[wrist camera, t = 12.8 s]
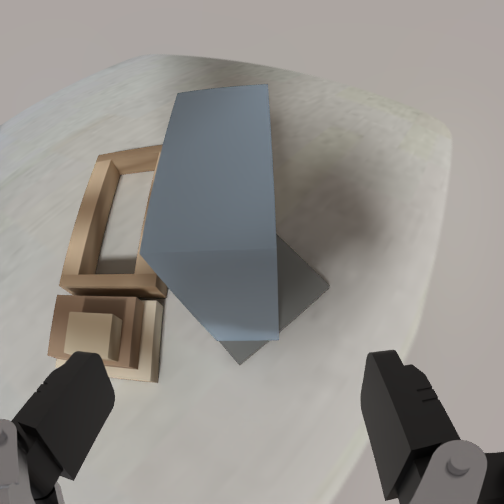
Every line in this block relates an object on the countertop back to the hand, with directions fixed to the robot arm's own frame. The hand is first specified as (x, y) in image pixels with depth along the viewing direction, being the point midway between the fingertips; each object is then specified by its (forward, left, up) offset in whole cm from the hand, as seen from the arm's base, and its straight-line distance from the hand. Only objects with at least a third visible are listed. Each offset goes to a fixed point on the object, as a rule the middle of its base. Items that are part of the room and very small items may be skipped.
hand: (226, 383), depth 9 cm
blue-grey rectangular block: (-5, +4, -9) cm, 11 cm away
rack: (-13, -1, -9) cm, 15 cm away
